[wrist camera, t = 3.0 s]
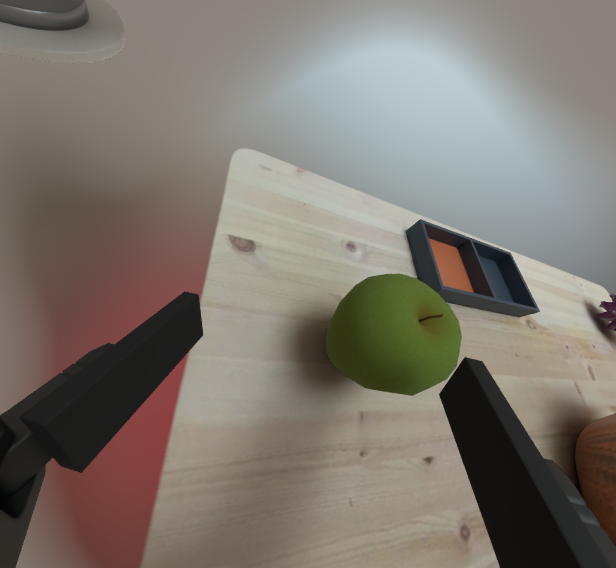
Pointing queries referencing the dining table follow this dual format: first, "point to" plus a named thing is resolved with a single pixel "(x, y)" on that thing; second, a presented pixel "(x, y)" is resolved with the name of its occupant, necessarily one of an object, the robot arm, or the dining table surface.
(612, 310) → the flower
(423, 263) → the tray
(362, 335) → the apple
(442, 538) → the dining table surface
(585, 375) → the dining table surface
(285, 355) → the dining table surface
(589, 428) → the bowl
